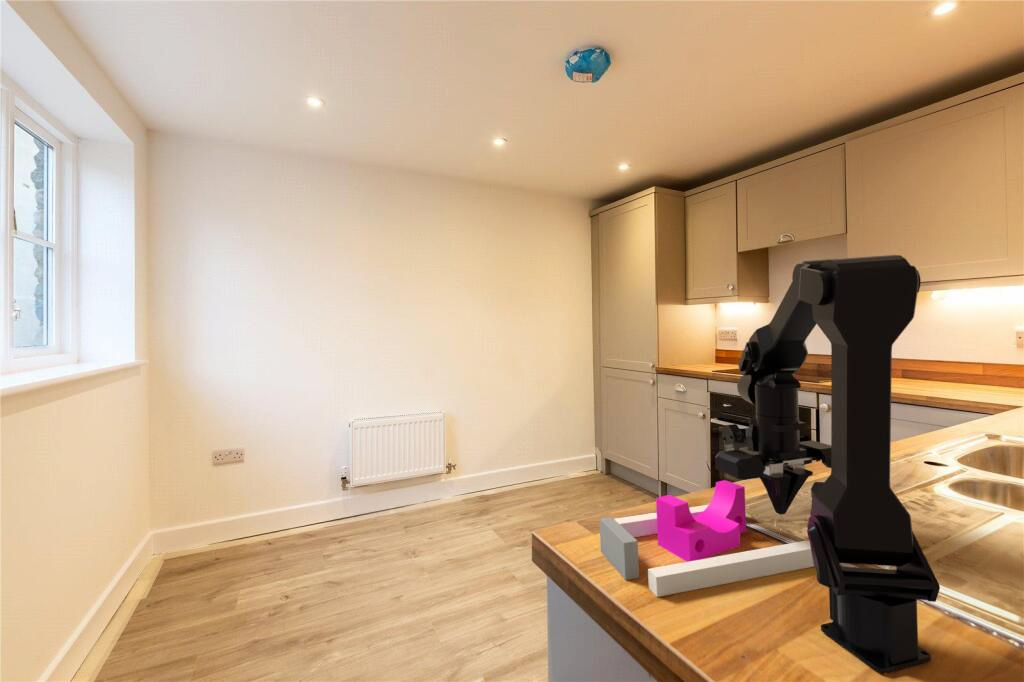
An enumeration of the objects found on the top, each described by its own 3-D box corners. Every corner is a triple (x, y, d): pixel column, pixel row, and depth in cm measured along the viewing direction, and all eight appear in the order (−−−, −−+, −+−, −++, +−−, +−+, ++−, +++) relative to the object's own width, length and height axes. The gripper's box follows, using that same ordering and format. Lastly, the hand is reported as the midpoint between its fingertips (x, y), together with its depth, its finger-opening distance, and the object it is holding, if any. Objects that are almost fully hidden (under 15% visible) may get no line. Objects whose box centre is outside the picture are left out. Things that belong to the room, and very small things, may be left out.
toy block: (690, 565, 62) (688, 512, 62) (658, 546, 68) (656, 498, 67) (760, 539, 68) (759, 491, 68) (726, 524, 74) (724, 480, 74)
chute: (825, 564, 60) (824, 528, 60) (642, 599, 54) (640, 560, 54) (736, 514, 77) (735, 486, 77) (589, 537, 71) (587, 507, 71)
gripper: (784, 401, 78) (787, 488, 78) (691, 410, 74) (695, 502, 74) (844, 412, 67) (847, 513, 68) (739, 423, 63) (743, 530, 64)
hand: (780, 513), depth 69 cm, fingers closed
